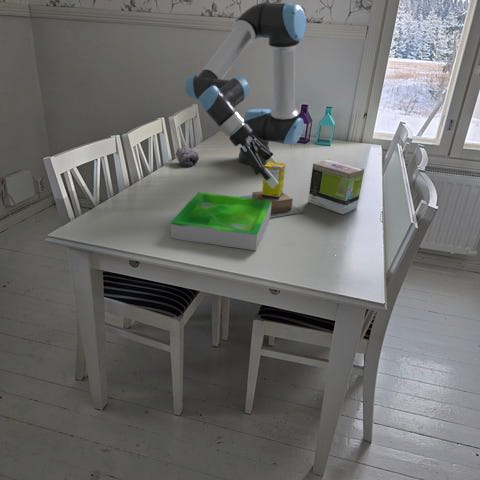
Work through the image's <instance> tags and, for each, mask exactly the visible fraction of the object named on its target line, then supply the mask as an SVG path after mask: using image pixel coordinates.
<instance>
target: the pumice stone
mask: <svg viewBox="0 0 480 480" xmlns="http://www.w3.org/2000/svg"><path fill="white" fill-rule="evenodd" d="M175 156H176V157H177V160H178V163H179V164H180V165H182V166H184V167H188V168H189V167H190V168H191V167H193V165H195V164H197V163H198V162H199V159H200V156H199V153H198V152H197V150H195V149H193V148H190V147H188V146H185V147H180V148H178V149H177V150H176V152H175Z"/></svg>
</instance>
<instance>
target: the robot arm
mask: <svg viewBox="0 0 480 480" xmlns="http://www.w3.org/2000/svg"><path fill="white" fill-rule="evenodd" d="M306 20H307V19H306V14H305V11H304V9H303V8H302V7H301V5H299V4H294V3H290V2H260V3H257V4H255V5H252V6H251V7H249V8H248V9H246V10H245V11H244V12H243V13H242V14H240V16H239V17H237V18H236V20H235V21H234V22H233V24H232V27H231V29H232V30H231V31H230V32H229V34H228V35H227V36H226V38H225V40H223V42H222V43H221V45H220V46H219V47H218V49H217V50H216V51H215V52H214V54H213V55H212V57H211V58H210V60H209V61H207V63H206V65H205V66H204V67H203V69H202V70H201V71H200V72H199V73H198V75H190V76H188V77H187V78H186V81H185V82H184V83H185V84H184V89H185V93H186V96H188V97H189V98H190V99H191V98H192V99H195V100H197V101H198V102H199V104H200V106H201V108H203V110H204V112H205V113H207V114H208V116H209V117H210V118H211V119H212V120H213V122H215V124H216V125H217V127H219V128H220V132H221V133H224V134H225V136H227V137H229V140H230V141H231V143H232V144H233V146H235V147H238V146H239V145H241V147H240V148H239V153H238V161H239V162H240V163H242V164H245V165H248V166H249V165H250V167H251V168H252V170H253V172H254V173H255V176H258V175H260V176H261V177H262V180H263V179H264V180H265V181H266V182H267V183H268V185H269V186H270V187H271V188H272V189H273V188H274V187H275V186H277V185H278V184H279V183H278V182H277V180H276V179H275V178H274V177H273V176H272V174H271V173H270V172H269V171H268V170H267V168H264V166H265V165H266V164H267V163H268V162H269V161H270V162H277V160H275V158H274V157H273V156H274V153H273V152H271V151H270V146H269V142H272V143H273V142H274V143H277V144H282V145H285V146H286V145H289V146H294V145H295V144H297V142H298V141H299V140H300V138H301V136H302V134H303V130H304V123H305V122H304V119H303V118H302V117H299V110H297V108H296V48H298V46H299V45H300V43H301V42H300V41H301V40H302V39H303V38H304V36H305V34H306V28H307V21H306ZM259 38H263V39H264V38H265V39H268V46H269V47H270V48H271V49H272V62H273V63H272V64H273V65H272V68H273V70H272V71H273V102H274V103H273V107H274V108H273V110H272V109H270V108H253V109H249V110H246V111H245V113H244V118H243V117H242V115H241V114H239V112H238V111H237V110H236V109H235V108H236V107H237V106H238V105H239V104H240V103H241V102H243V101H244V100H245V98H247V97H248V95H249V93H250V86H249V85H250V84H249V83H248V81H247V79H245V78H244V77H242V76H238V75H237V76H234V77H232V78H231V79H224V78H225V77H226V76H227V74H228V72H230V70H231V69H232V67H233V65H234V64H235V63H236V62H237V61H238V59H239V58H240V57H241V55H242V53H244V51H245V49H246V48H247V47H248V45H250V44H253V43H254V42H255V40H256V39H259Z"/></svg>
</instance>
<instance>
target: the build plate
mask: <svg viewBox="0 0 480 480" xmlns="http://www.w3.org/2000/svg"><path fill="white" fill-rule="evenodd" d="M240 197H241V198H249V199H257V200H265V201H272V204H271V216H270V218H269V220H270V219H277V218H282V217H287V216H294V215H300V214H304V211H303V210H302V209H300V208H299V207H297V206H296V205H294V204H293V198H292V197H291V196H289V195H287V194H285V193H284V192H282V195H281V196H280V198H279V199H276V198H269V197H262V190H261V191H254V192H252V193H251V194H249V195H242V196H240Z"/></svg>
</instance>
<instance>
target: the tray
mask: <svg viewBox="0 0 480 480" xmlns="http://www.w3.org/2000/svg"><path fill="white" fill-rule="evenodd" d="M271 204H272V201H265V200H257V199H249V198H241V196H234V195H233V196H232V195H225V194H223V195H222V194H217V193H216V194H215V193H214V194H213V193H209V192H200V191H199V192H197V193H196V194H195V195H194V196H193V197H191V199H190V201H188V203H187V204H186V205H185V206H184V207H183V208H182V209H181V210H180V212H178V214H177V215H176V216H175V217H174V218H173V219H172V220H171V221H170V239H177V240H182V241H189V242H195V243H201V244H202V243H203V244H210V245H215V246H223V247H230V248H236V249H243V250H249V251H257V250H258V246H259V244H260V242H261V239H262V237H263V234H264V232H265V230H266V227H267V225H268V223H269V220H270V219H269V218H270V216H271Z"/></svg>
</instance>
